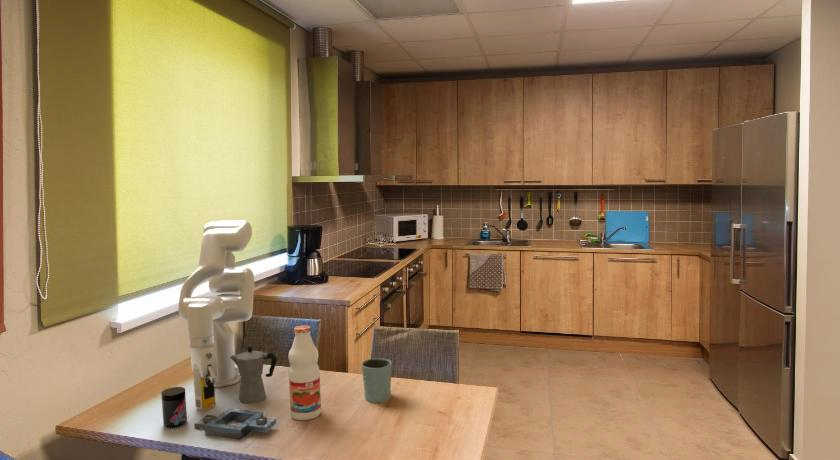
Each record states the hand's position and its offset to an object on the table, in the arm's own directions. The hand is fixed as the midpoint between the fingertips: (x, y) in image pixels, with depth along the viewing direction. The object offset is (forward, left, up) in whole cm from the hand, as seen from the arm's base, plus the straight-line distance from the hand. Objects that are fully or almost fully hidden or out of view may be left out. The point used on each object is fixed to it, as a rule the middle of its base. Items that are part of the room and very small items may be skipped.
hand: (204, 394), depth 184 cm
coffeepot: (-15, +5, -5) cm, 16 cm away
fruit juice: (-20, +28, -5) cm, 35 cm away
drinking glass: (-44, +34, -5) cm, 56 cm away
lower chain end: (+2, +19, -4) cm, 19 cm away
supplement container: (+12, +5, -5) cm, 14 cm away
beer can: (0, 0, -5) cm, 5 cm away
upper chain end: (-1, +24, -3) cm, 24 cm away
